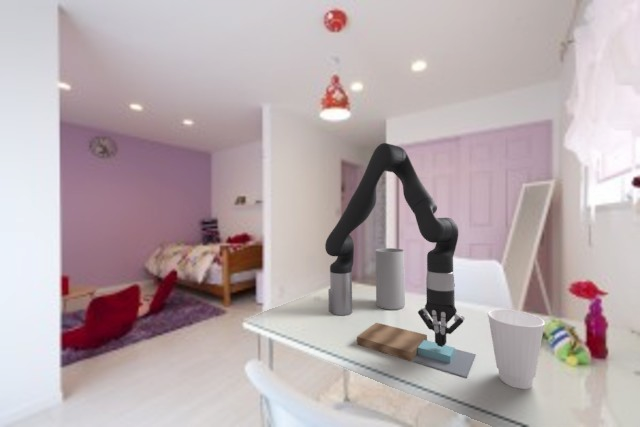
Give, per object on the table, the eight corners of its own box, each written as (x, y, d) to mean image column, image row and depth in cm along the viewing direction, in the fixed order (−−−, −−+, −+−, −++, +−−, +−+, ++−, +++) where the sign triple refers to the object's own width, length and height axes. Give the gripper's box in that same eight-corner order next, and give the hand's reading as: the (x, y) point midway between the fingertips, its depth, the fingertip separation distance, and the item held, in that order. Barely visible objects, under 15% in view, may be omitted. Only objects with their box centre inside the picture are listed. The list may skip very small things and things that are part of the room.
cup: (497, 362, 80) (496, 305, 80) (550, 381, 71) (550, 317, 71) (480, 379, 72) (480, 316, 72) (538, 402, 63) (538, 331, 63)
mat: (412, 361, 81) (412, 360, 81) (427, 342, 92) (427, 341, 92) (466, 378, 73) (466, 377, 73) (475, 355, 84) (475, 354, 84)
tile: (417, 354, 85) (417, 347, 85) (424, 346, 90) (423, 339, 90) (450, 363, 79) (450, 356, 79) (455, 354, 84) (455, 347, 84)
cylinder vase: (372, 307, 126) (371, 251, 126) (381, 299, 137) (381, 247, 137) (400, 312, 120) (399, 253, 120) (408, 303, 130) (407, 249, 130)
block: (357, 344, 92) (356, 336, 92) (376, 329, 103) (376, 322, 103) (412, 361, 81) (412, 352, 81) (427, 342, 92) (427, 334, 92)
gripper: (413, 285, 84) (413, 344, 84) (462, 293, 76) (463, 357, 76) (421, 280, 90) (421, 335, 90) (467, 286, 82) (468, 346, 82)
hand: (440, 345), depth 83 cm, fingers closed
